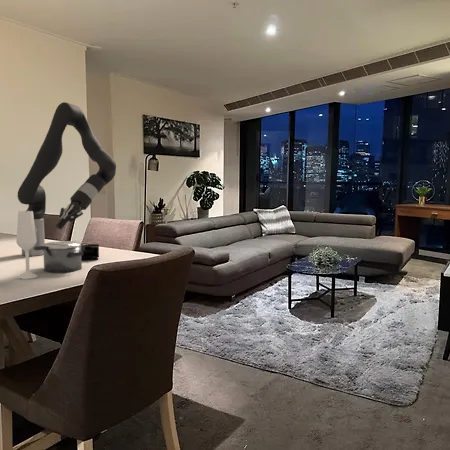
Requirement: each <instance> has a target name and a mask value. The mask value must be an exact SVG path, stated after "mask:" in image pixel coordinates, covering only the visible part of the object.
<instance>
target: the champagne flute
mask: <svg viewBox="0 0 450 450" xmlns="http://www.w3.org/2000/svg"><path fill="white" fill-rule="evenodd" d="M16 227H17V228H16V239H15V240H16V241H15V242H16V244H17V245H18V247H19V248H21V250H22V249H23V250H25V255H24V256H25V271H24V272H23V273H22V274H20V275H19V276H17V278H18V279H20V278H22V279H23V280H26V279H34V278H37V277H39V276H38V274H37V273H36V274H35V273H34V272H32V271H30V256H29V250H30V249H32V248H33V247H34V246H35V244H36V242H37V238H36V231H35V224H34V216H33V211H26V210H22V211H21V210H19V211H18V212H17V226H16Z"/></svg>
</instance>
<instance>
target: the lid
mask: <svg viewBox="0 0 450 450" xmlns="http://www.w3.org/2000/svg"><path fill="white" fill-rule="evenodd" d="M81 245H85V244H84V242H80V241H76V240H75V241H74V240H66V241H65V240H64V241H51V242H46V243H45V244H43V246H38V247H34V250H44V249H52V250H62V249H73V248H79V247H81Z"/></svg>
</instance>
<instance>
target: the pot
mask: <svg viewBox="0 0 450 450" xmlns="http://www.w3.org/2000/svg"><path fill="white" fill-rule="evenodd" d="M85 245H86V244H83V245H81V247H79V248H73V249H62V250H52V249H44V250H43V251H44V254H43V271H44V272H46V273H50V274H64V273H65V274H66V273H73V272H77V271H81V270H82V268H83V266H82V264H83V263H82V262H83V261H82V257H81V255H83V251H85Z"/></svg>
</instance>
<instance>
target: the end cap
mask: <svg viewBox="0 0 450 450" xmlns="http://www.w3.org/2000/svg"><path fill="white" fill-rule="evenodd" d="M84 245H85V251H83V255H81V257H82V262H91V261H99V257H100V251H99V250H100V249H99V246H100V245H99V243H96V244H95V243H93V244H91V243H90V244H84Z"/></svg>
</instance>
